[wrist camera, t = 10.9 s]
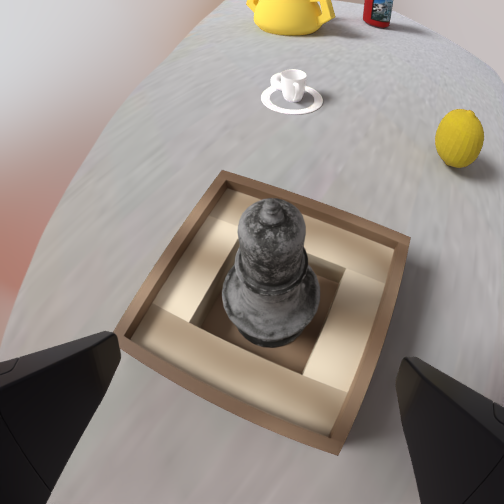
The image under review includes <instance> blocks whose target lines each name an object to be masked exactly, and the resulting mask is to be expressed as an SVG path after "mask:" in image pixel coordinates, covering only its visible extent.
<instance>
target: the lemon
mask: <svg viewBox="0 0 504 504" xmlns="http://www.w3.org/2000/svg"><path fill="white" fill-rule="evenodd" d="M483 141H484V131H483V127H482V125H481V122H480V121H479V119H478V118H477V117H476V116H475V113H474V112H473V111H471V110H468V111H467V110H464V109H456V110H452V111H451V112H449V113H448V114H447V115H446V116H445V117H444V118H443V119H442V121H441V122H440V124H439V126H438V129H437V132H436V136H435V145H436V149H437V152H438V154H439V156H440V157H441V159H442V160H443V161H444V162H445V164H446V165H448V166H449V165H450V166H453V167H457V168H462V167H466V166H468V165H470V164H471V163H473V162H474V161H475V160H476V158H477V157H478V155H479V153H480V151H481V149H482V146H483Z"/></svg>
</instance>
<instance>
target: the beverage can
mask: <svg viewBox="0 0 504 504" xmlns="http://www.w3.org/2000/svg"><path fill="white" fill-rule="evenodd" d="M392 5H393V0H365V3H364V12H363V20H364V21H365V22H366V23H367V24H368V25H371V26H374V27H378V28H385V27H388V26H389V24H390V18H391V12H392Z"/></svg>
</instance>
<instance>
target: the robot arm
mask: <svg viewBox="0 0 504 504" xmlns="http://www.w3.org/2000/svg"><path fill="white" fill-rule="evenodd" d="M120 359H121V353H120V347H119V342H118V337H117V335H116V334H115V333H113V332H108V331H103V332H100V333H97V334H93V335H90V336H87V337H84V338H81V339H78V340H74V341H71V342H68V343H65V344H61V345H58V346H55V347H52V348H48V349H45V350H42V351H38V352H35V353H32V354H28V355H25V356H22V357H20V358H15V359H11V360H7V361H4V362H0V504H46V503H47V501H48V499H49V497H50V495H51V492H52V491H53V489H54V487H55V485H56V483H57V481H58V479H59V477H60V475H61V473H62V471H63V469H64V467H65V466H66V464H67V462H68V460H69V458H70V456H71V454H72V453H73V451H74V449H75V447H76V445H77V443H78V442H79V440H80V438H81V436H82V434H83V433H84V431H85V429H86V427H87V426H88V424H89V422H90V420H91V418H92V417H93V415H94V413H95V411H96V410H97V408H98V406H99V405H100V403H101V401H102V399H103V397H104V396H105V394H106V391H107V389H108V387H109V385H110V383H111V380H112V378H113V376H114V374H115V371H116V369H117V367H118V365H119V362H120ZM396 391H397V397H398V403H399V409H400V415H401V421H402V426H403V430H404V434H405V438H406V441H407V445H408V449H409V453H410V457H411V461H412V465H413V469H414V474H415V478H416V483H417V487H418V492H419V497H420V502H421V504H504V407H502V406H500V405H499V404H497V403H495V402H494V403H493V401H491V400H490V399H488V398H486V397H484V396H483V395H481V394H479V393H478V392H476V391H474V390H472V389H471V388H469V387H467V386H465V385H464V384H462V383H460V382H458V381H457V380H455V379H453V378H452V377H450V376H448V375H446V374H445V373H443V372H441V371H439V370H438V369H436V368H434V367H433V366H431V365H429V364H427V363H426V362H424V361H422V360H421V359H419V358H417V357H405V358H403V360H402V362H401V365H400V368H399V371H398V374H397V377H396Z"/></svg>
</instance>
